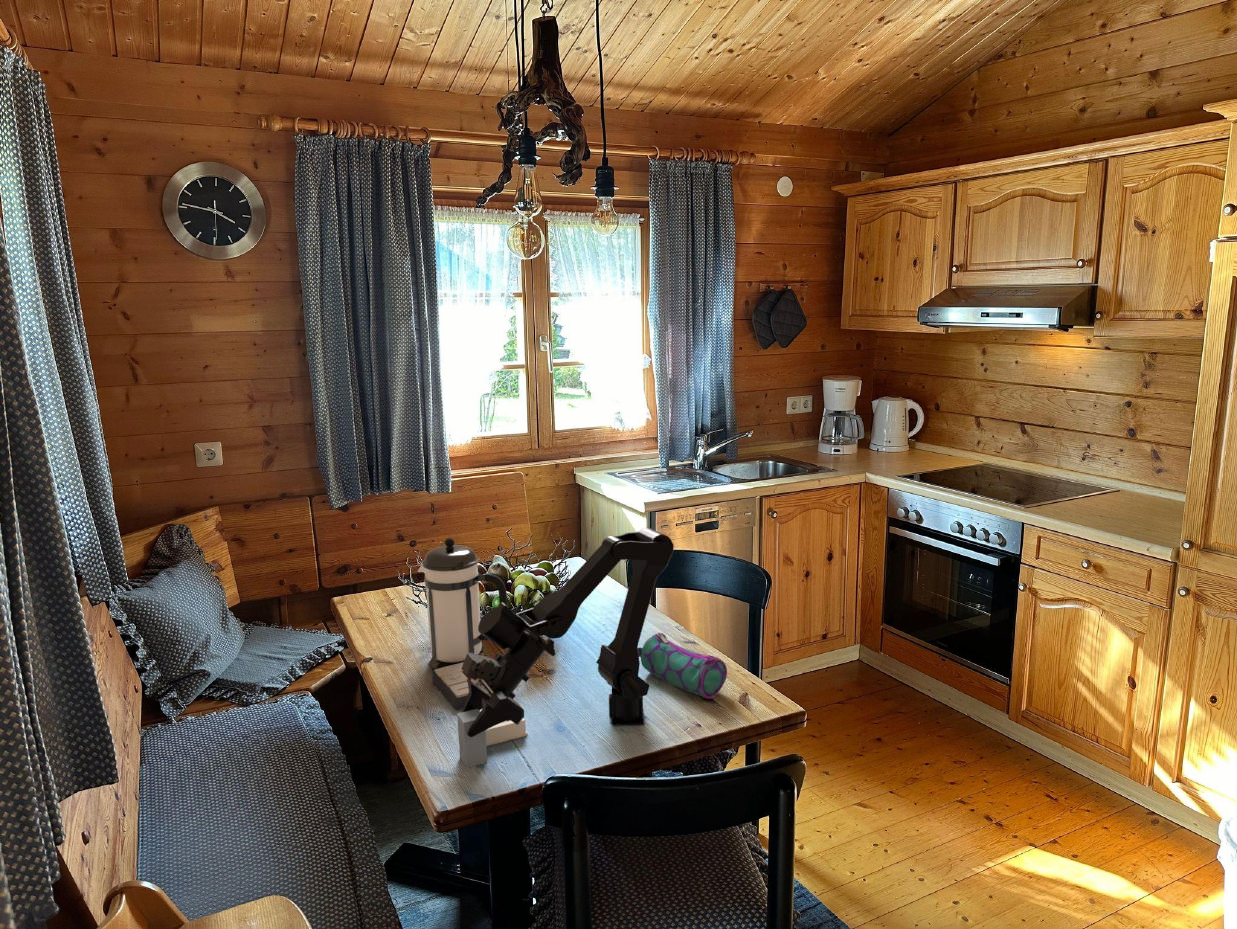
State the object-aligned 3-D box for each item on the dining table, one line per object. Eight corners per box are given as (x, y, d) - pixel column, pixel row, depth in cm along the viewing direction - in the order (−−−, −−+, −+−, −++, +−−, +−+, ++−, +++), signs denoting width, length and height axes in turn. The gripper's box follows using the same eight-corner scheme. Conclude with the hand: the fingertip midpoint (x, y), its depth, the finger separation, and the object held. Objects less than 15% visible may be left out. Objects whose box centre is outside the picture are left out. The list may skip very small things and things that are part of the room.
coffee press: (448, 680, 198) (439, 552, 192) (413, 658, 209) (404, 537, 203) (511, 657, 209) (505, 536, 203) (475, 638, 221) (468, 523, 215)
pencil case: (635, 675, 198) (635, 635, 197) (664, 663, 204) (664, 624, 202) (701, 707, 183) (701, 664, 181) (730, 694, 188) (730, 652, 186)
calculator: (455, 696, 183) (431, 667, 195) (456, 715, 184) (432, 685, 196) (504, 683, 188) (477, 655, 201) (505, 701, 189) (478, 673, 202)
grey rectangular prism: (480, 752, 167) (477, 708, 165) (487, 762, 163) (484, 717, 161) (459, 757, 165) (457, 713, 163) (466, 767, 161) (463, 722, 160)
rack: (512, 717, 180) (511, 701, 179) (528, 736, 172) (527, 719, 171) (465, 729, 175) (464, 712, 175) (479, 749, 168) (478, 731, 167)
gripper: (471, 621, 169) (418, 687, 167) (504, 656, 153) (446, 730, 150) (512, 651, 174) (461, 716, 172) (548, 688, 158) (492, 760, 155)
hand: (464, 729), depth 162 cm, fingers open, 5 cm apart
